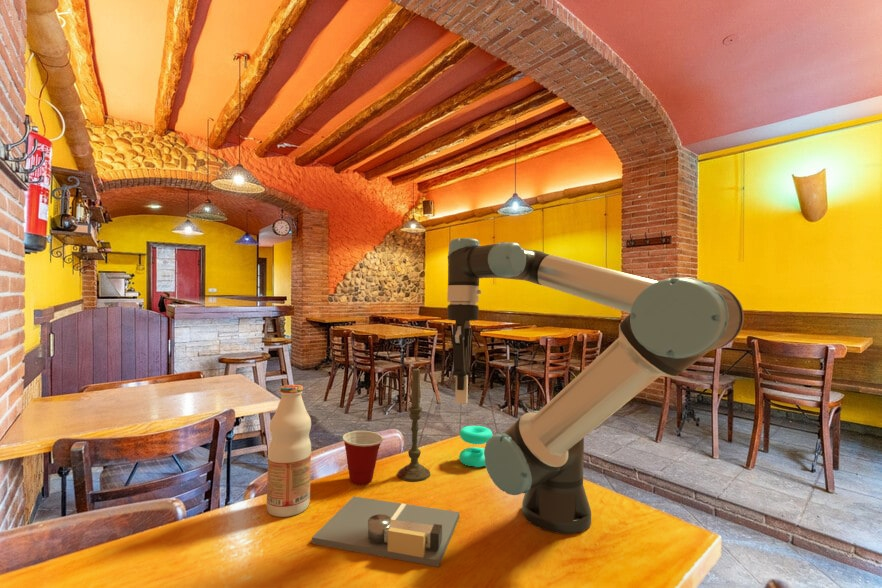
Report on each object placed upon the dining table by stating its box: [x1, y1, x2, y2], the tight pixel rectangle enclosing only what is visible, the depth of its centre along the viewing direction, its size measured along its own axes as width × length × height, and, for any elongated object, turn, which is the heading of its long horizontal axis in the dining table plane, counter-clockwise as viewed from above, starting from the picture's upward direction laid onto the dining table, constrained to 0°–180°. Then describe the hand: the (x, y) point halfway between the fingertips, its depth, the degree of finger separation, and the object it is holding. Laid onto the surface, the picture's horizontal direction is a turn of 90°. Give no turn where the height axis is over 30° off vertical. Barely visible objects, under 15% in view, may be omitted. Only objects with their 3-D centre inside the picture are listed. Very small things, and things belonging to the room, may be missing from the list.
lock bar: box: [368, 514, 442, 550], centre depth 79 cm, size 14×4×3 cm, turn 78°
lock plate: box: [311, 496, 460, 568], centre depth 86 cm, size 26×18×5 cm
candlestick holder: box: [397, 367, 431, 482], centre depth 115 cm, size 9×9×30 cm
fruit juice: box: [266, 384, 312, 518], centre depth 95 cm, size 9×9×28 cm
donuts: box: [458, 425, 493, 468], centre depth 124 cm, size 10×10×10 cm
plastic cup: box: [342, 430, 384, 486], centre depth 110 cm, size 11×11×12 cm
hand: (461, 402), depth 97 cm, fingers closed
